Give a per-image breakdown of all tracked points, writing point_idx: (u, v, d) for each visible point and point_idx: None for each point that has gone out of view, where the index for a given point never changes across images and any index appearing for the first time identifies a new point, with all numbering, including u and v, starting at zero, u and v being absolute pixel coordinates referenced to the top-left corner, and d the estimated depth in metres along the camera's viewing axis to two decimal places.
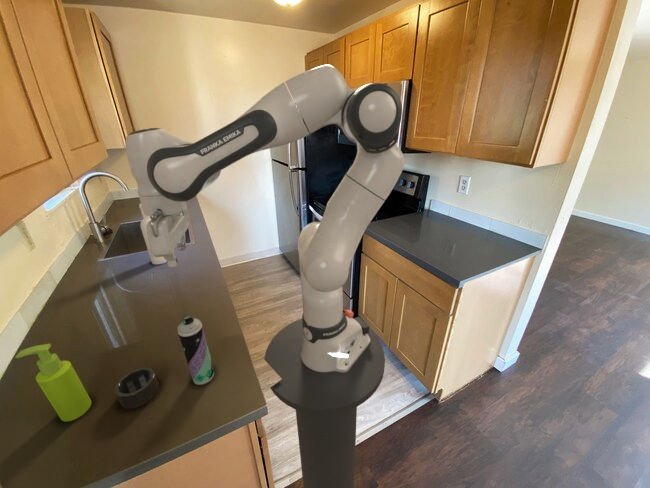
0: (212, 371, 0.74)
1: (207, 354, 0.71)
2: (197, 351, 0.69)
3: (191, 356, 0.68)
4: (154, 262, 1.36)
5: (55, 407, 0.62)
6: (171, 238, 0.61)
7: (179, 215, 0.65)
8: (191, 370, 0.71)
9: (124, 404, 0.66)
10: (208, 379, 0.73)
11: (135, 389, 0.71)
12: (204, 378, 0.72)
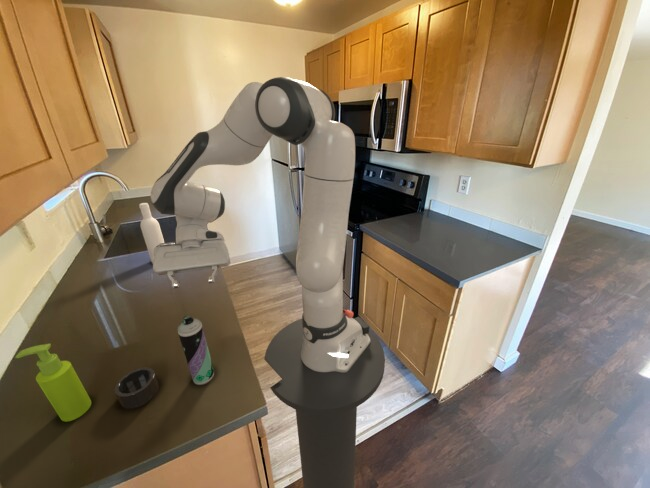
0: (212, 371, 0.74)
1: (207, 354, 0.71)
2: (197, 351, 0.69)
3: (191, 356, 0.68)
4: None
5: (55, 407, 0.62)
6: (165, 260, 0.77)
7: (186, 245, 0.78)
8: (191, 370, 0.71)
9: (124, 404, 0.66)
10: (208, 379, 0.73)
11: (135, 389, 0.71)
12: (204, 378, 0.72)
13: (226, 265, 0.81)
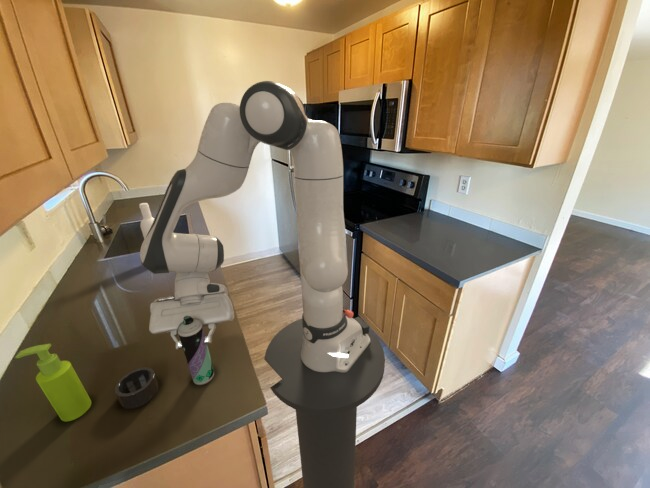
0: (212, 371, 0.74)
1: (207, 354, 0.71)
2: (197, 351, 0.69)
3: (191, 356, 0.68)
4: None
5: (55, 407, 0.62)
6: (163, 319, 0.69)
7: (185, 301, 0.71)
8: (191, 370, 0.71)
9: (124, 404, 0.66)
10: (208, 379, 0.73)
11: (135, 389, 0.71)
12: (204, 378, 0.72)
13: (230, 321, 0.74)
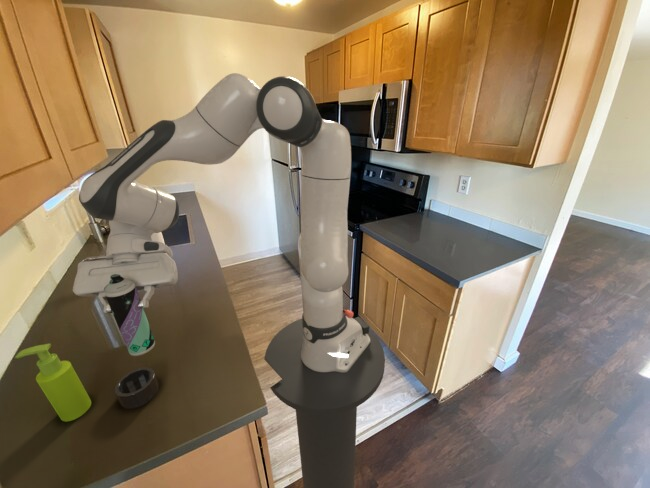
0: (151, 341, 0.66)
1: (142, 320, 0.63)
2: (128, 316, 0.60)
3: (121, 321, 0.60)
4: None
5: (55, 407, 0.62)
6: (90, 279, 0.61)
7: (117, 259, 0.62)
8: (124, 338, 0.62)
9: (124, 404, 0.66)
10: (145, 350, 0.64)
11: (135, 389, 0.71)
12: (140, 348, 0.63)
13: (171, 284, 0.65)
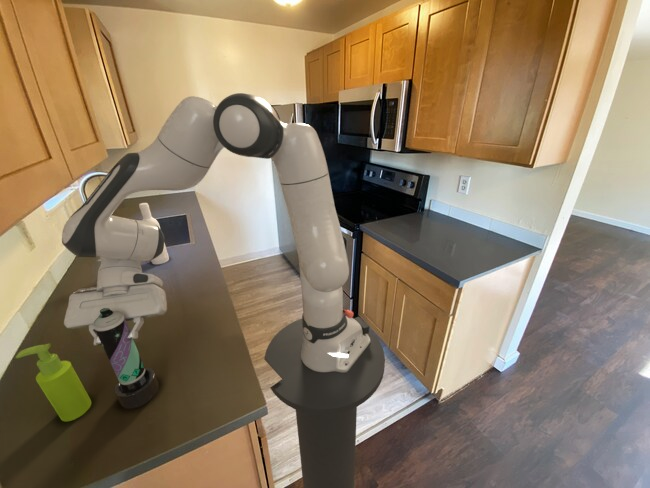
0: (141, 370, 0.67)
1: (132, 351, 0.64)
2: (118, 348, 0.62)
3: (110, 353, 0.61)
4: (154, 262, 1.36)
5: (55, 407, 0.62)
6: (81, 312, 0.62)
7: (107, 292, 0.64)
8: (114, 369, 0.64)
9: (124, 404, 0.66)
10: (135, 379, 0.66)
11: (135, 389, 0.71)
12: (130, 378, 0.65)
13: (160, 314, 0.67)
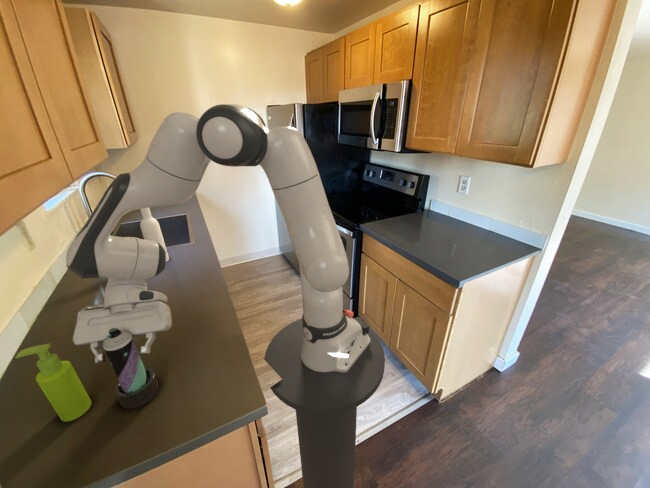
0: None
1: (139, 368, 0.67)
2: (126, 366, 0.64)
3: (119, 371, 0.64)
4: None
5: (55, 407, 0.62)
6: (89, 329, 0.64)
7: (114, 310, 0.66)
8: (122, 386, 0.66)
9: (124, 404, 0.66)
10: None
11: None
12: None
13: (165, 330, 0.69)
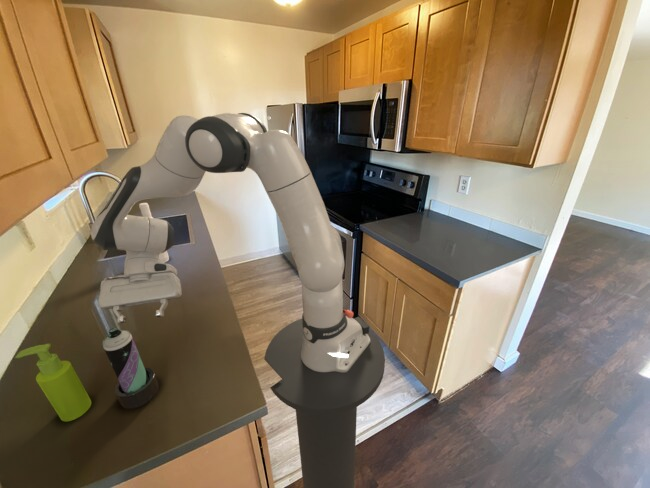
0: None
1: (139, 368, 0.67)
2: (126, 366, 0.64)
3: (119, 371, 0.64)
4: None
5: (55, 407, 0.62)
6: (111, 295, 0.75)
7: (133, 279, 0.77)
8: (122, 386, 0.66)
9: (124, 404, 0.66)
10: None
11: None
12: None
13: (176, 297, 0.80)
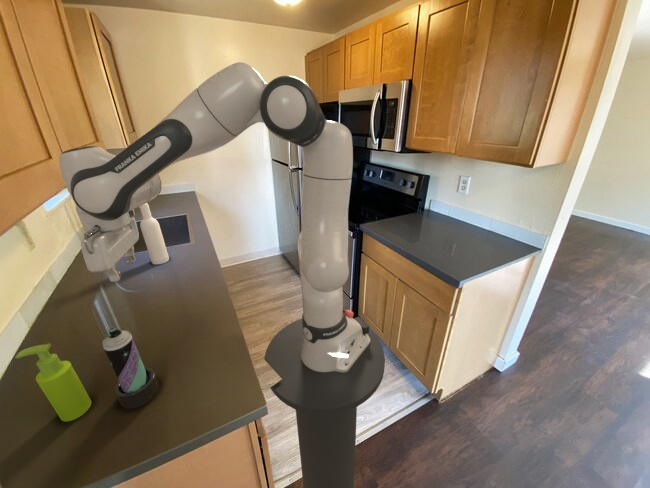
0: None
1: (139, 368, 0.67)
2: (126, 366, 0.64)
3: (119, 371, 0.64)
4: (154, 262, 1.36)
5: (55, 407, 0.62)
6: (110, 253, 0.62)
7: (121, 230, 0.66)
8: (122, 386, 0.66)
9: (124, 404, 0.66)
10: None
11: None
12: None
13: None
